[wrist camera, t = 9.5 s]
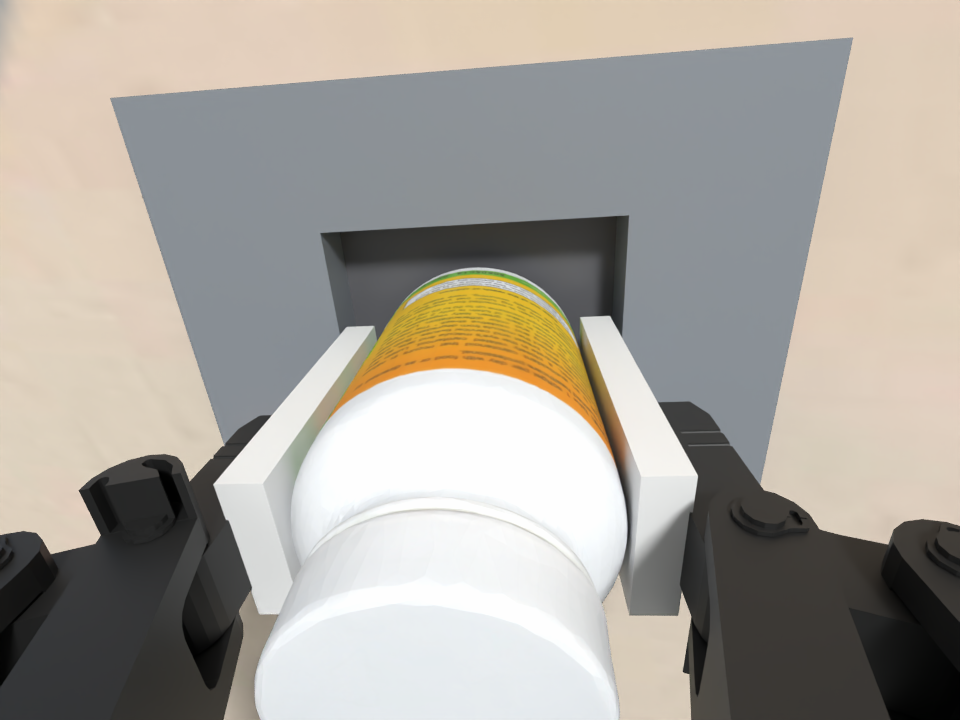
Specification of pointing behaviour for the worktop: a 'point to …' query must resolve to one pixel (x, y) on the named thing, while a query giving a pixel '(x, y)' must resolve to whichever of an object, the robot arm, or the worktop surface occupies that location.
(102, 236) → the worktop surface
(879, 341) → the worktop surface
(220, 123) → the socket plate
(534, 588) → the supplement bottle
